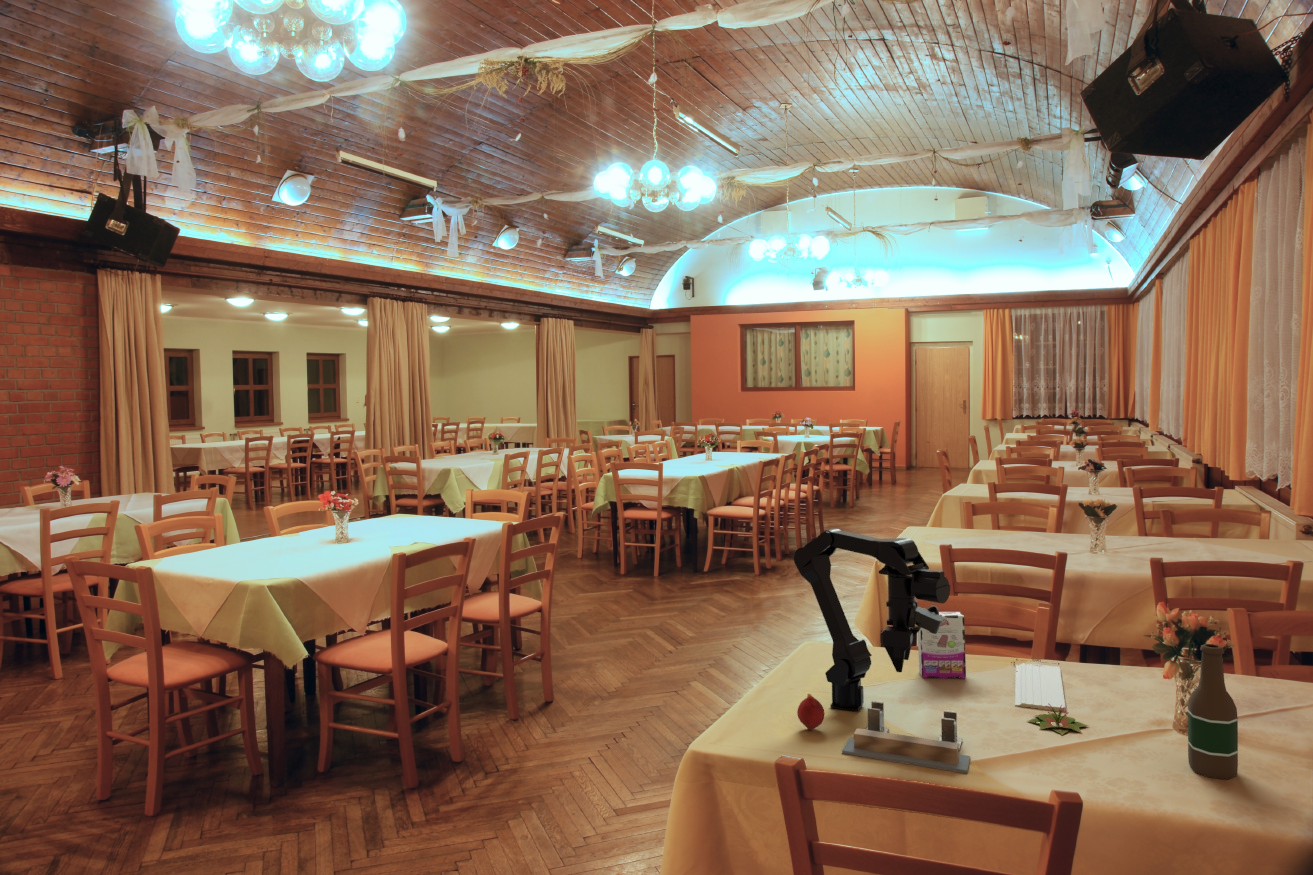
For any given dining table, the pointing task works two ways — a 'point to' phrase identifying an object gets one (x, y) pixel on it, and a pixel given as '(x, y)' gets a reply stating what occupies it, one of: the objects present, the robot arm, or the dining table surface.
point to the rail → (907, 746)
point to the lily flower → (1057, 721)
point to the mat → (908, 758)
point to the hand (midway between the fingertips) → (902, 665)
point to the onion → (810, 712)
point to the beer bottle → (1212, 720)
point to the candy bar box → (943, 648)
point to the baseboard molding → (1039, 686)
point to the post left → (876, 717)
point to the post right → (950, 728)
